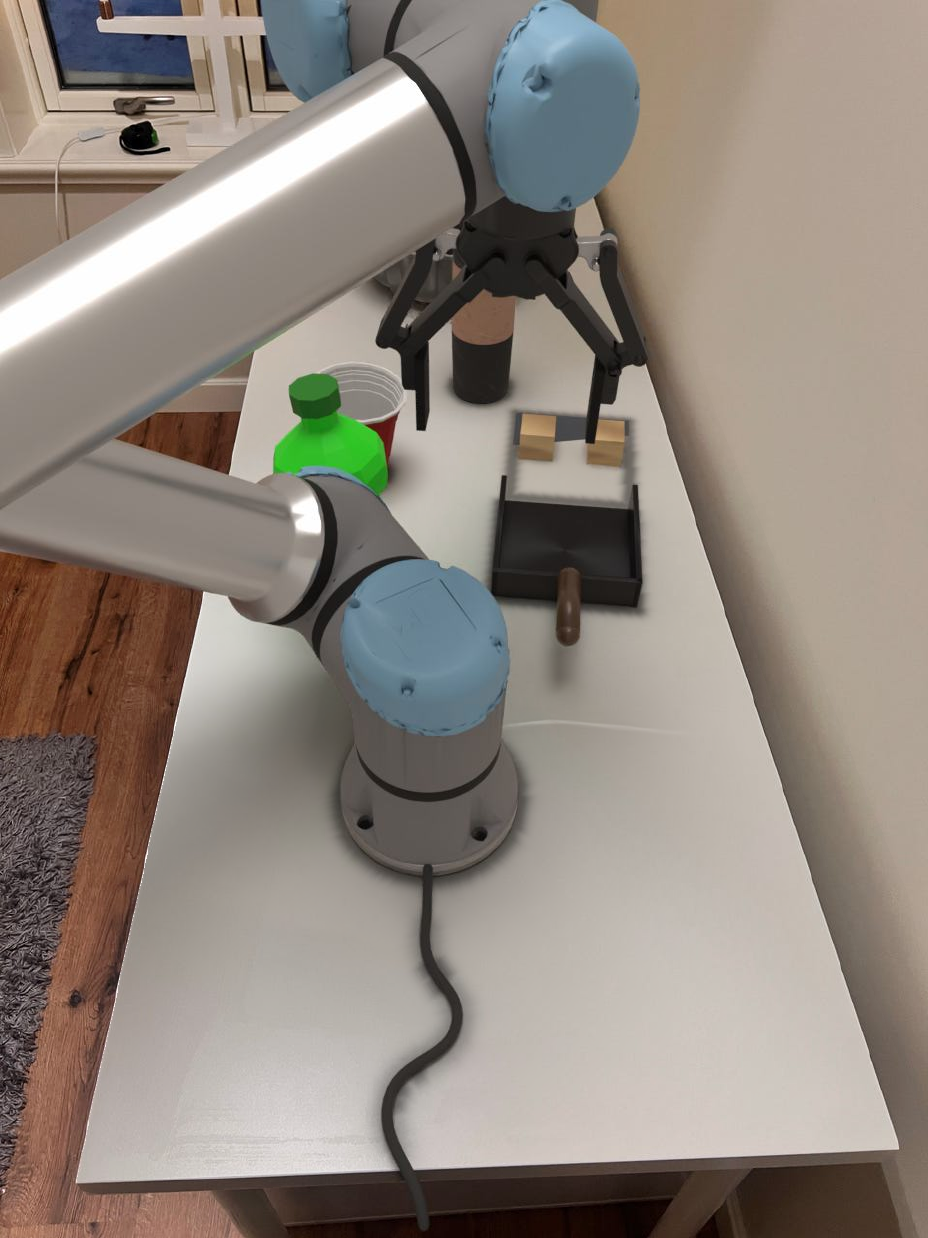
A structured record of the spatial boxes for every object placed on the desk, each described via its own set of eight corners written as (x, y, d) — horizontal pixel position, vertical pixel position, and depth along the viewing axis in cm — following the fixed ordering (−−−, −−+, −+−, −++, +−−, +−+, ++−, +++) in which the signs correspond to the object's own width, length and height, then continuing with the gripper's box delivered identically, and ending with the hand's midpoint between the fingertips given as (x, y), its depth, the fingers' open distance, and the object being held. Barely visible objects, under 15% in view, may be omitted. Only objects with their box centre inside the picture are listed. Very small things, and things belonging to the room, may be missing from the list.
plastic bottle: (402, 558, 101) (368, 347, 83) (411, 628, 94) (376, 413, 76) (309, 572, 101) (254, 362, 83) (310, 643, 93) (251, 430, 76)
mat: (630, 506, 108) (630, 505, 108) (507, 497, 109) (507, 495, 109) (628, 421, 119) (628, 420, 118) (516, 413, 119) (516, 412, 119)
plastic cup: (397, 511, 107) (393, 424, 98) (305, 497, 108) (292, 410, 99) (419, 452, 114) (417, 365, 105) (332, 439, 115) (323, 353, 106)
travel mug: (443, 398, 121) (443, 248, 106) (461, 366, 126) (463, 218, 111) (500, 409, 120) (509, 259, 105) (516, 376, 125) (526, 228, 110)
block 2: (624, 420, 112) (619, 448, 115) (590, 418, 112) (586, 445, 115) (624, 441, 109) (619, 469, 112) (589, 438, 109) (586, 466, 112)
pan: (639, 697, 90) (653, 642, 84) (481, 684, 91) (484, 628, 85) (632, 513, 107) (643, 456, 101) (500, 503, 108) (503, 446, 102)
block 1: (556, 415, 112) (553, 443, 115) (522, 413, 112) (520, 440, 115) (554, 436, 110) (551, 463, 113) (520, 433, 110) (518, 461, 113)
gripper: (713, 145, 63) (659, 410, 79) (342, 123, 64) (362, 388, 80) (722, 196, 58) (662, 468, 74) (320, 171, 59) (345, 443, 75)
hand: (506, 427), depth 77 cm, fingers open, 13 cm apart
